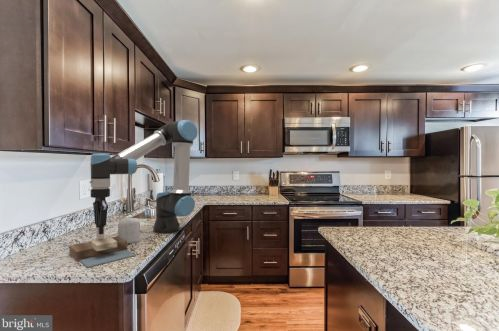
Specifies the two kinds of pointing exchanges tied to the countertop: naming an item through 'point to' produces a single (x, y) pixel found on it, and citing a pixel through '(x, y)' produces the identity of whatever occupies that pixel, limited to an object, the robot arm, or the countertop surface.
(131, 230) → the photo printer
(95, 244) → the birch tile
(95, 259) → the rubber mat
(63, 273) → the countertop surface
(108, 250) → the board
